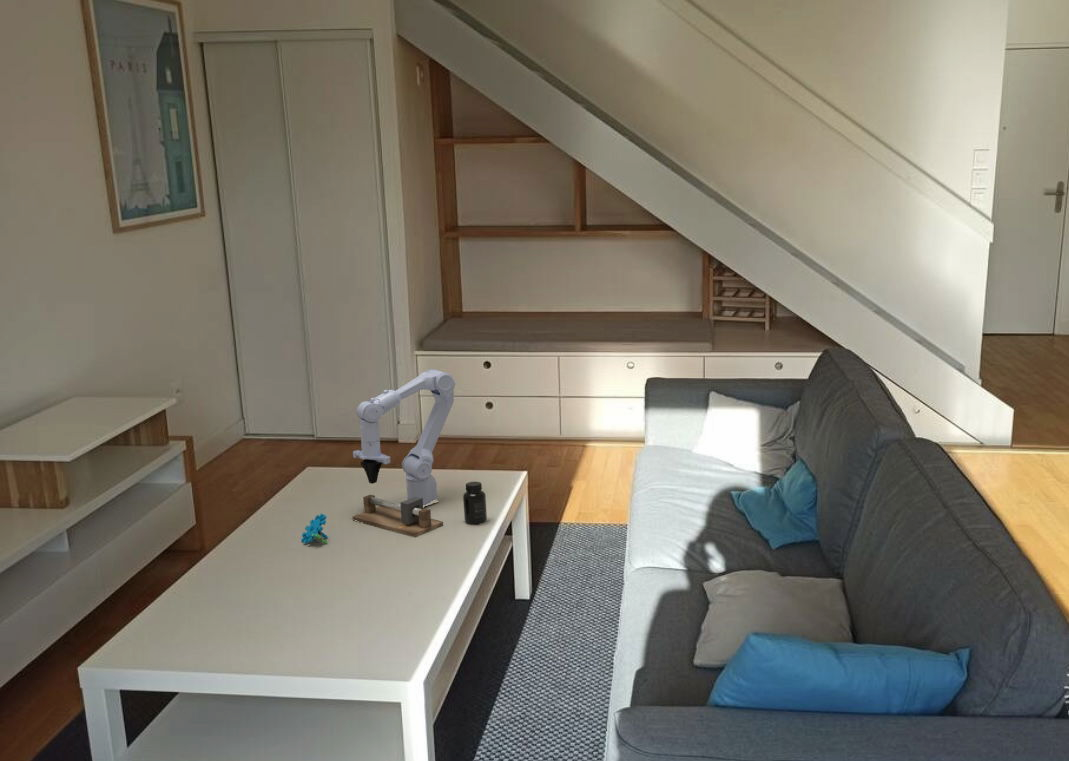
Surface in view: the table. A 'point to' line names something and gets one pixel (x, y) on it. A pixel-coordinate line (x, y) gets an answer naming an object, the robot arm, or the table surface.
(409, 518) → the collar
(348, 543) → the table surface
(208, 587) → the table surface
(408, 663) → the table surface
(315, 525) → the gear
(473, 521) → the supplement bottle
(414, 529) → the pipe stand
